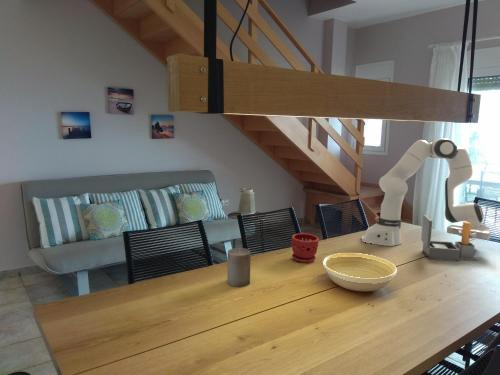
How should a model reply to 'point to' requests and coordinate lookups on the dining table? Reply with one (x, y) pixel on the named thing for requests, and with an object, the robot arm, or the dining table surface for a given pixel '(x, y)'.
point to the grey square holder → (466, 251)
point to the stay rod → (466, 233)
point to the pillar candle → (239, 267)
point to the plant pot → (304, 247)
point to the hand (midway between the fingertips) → (465, 235)
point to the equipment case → (437, 245)
